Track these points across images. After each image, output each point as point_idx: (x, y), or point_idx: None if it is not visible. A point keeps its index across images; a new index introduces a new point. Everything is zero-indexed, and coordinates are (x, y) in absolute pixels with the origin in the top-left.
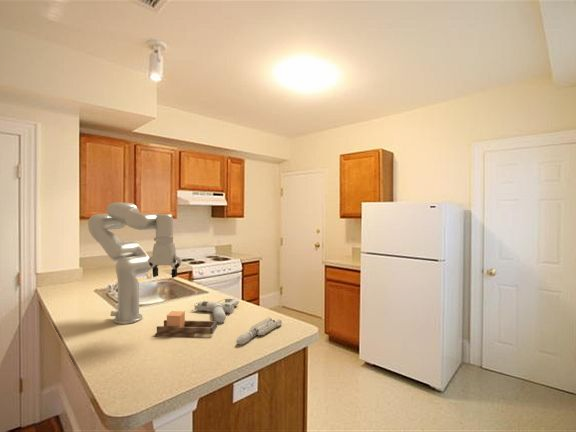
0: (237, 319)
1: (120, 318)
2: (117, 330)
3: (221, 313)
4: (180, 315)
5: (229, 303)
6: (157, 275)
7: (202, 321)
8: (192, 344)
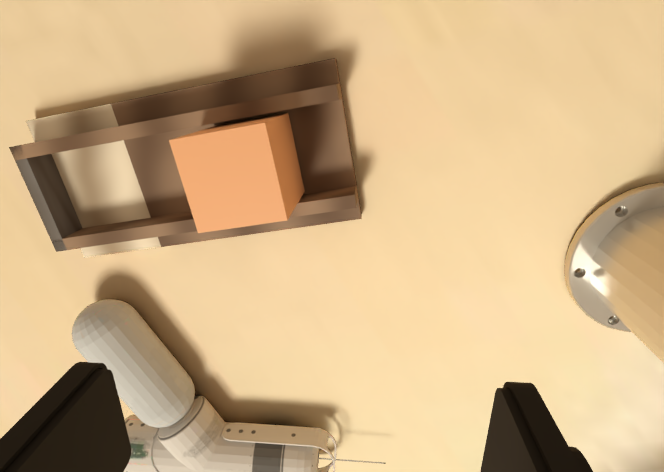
0: (68, 357)
1: None
2: (629, 87)
3: (77, 335)
4: (172, 149)
5: None
6: (485, 466)
7: (127, 232)
8: (65, 7)
